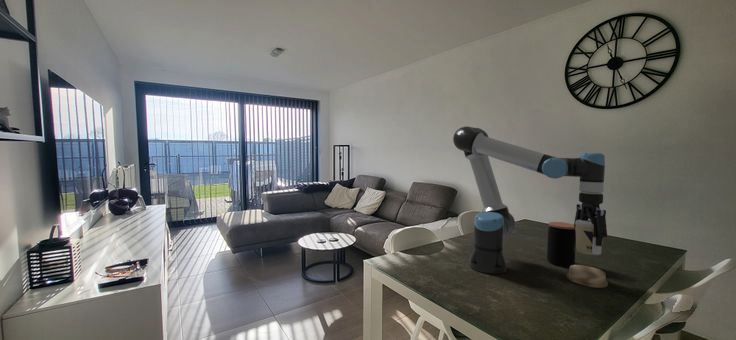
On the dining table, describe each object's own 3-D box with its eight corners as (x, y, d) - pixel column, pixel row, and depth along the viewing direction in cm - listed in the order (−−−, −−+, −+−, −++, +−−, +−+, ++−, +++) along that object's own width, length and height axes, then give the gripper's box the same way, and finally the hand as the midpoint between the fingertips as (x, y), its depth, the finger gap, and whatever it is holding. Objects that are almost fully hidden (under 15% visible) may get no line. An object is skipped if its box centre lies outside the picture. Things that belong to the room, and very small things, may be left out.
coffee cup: (585, 256, 110) (586, 224, 109) (568, 248, 119) (569, 219, 118) (610, 256, 110) (611, 224, 109) (591, 248, 119) (592, 219, 118)
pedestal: (569, 283, 112) (569, 272, 112) (564, 271, 124) (565, 262, 124) (612, 290, 106) (612, 280, 106) (603, 277, 118) (603, 267, 117)
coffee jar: (579, 268, 127) (581, 227, 126) (552, 266, 129) (554, 226, 128) (567, 259, 137) (569, 222, 136) (543, 258, 140) (544, 221, 139)
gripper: (622, 196, 102) (619, 259, 103) (583, 189, 123) (581, 242, 124) (599, 196, 103) (596, 259, 104) (565, 189, 124) (563, 241, 125)
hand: (588, 249), depth 114 cm, fingers closed on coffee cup, 9 cm apart
